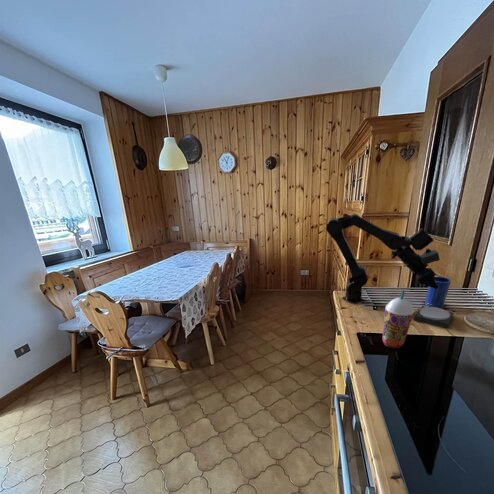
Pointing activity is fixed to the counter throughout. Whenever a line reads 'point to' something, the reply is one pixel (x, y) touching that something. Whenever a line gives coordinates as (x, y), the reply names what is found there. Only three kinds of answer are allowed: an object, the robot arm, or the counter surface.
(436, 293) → the tumbler
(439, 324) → the scale
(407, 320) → the smoothie
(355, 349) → the counter surface
